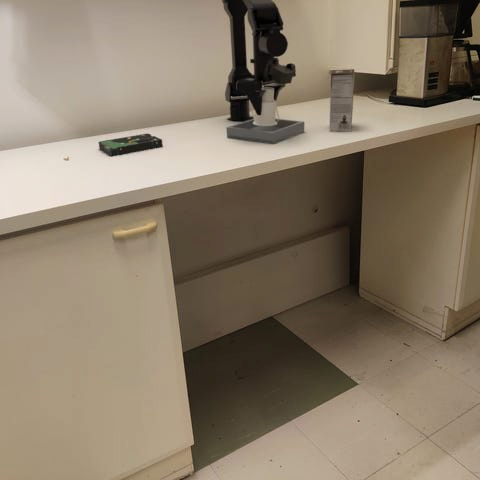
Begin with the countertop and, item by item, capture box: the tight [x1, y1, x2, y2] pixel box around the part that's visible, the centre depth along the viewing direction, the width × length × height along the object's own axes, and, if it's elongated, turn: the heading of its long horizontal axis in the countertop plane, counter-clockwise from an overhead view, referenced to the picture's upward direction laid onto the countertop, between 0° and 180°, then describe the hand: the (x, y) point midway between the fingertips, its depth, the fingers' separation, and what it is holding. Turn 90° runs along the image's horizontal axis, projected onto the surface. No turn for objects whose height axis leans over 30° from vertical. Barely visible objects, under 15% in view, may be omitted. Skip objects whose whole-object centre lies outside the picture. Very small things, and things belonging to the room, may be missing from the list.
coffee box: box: [329, 68, 355, 132], centre depth 139 cm, size 9×6×16 cm
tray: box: [226, 118, 305, 145], centre depth 138 cm, size 16×16×3 cm
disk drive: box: [98, 133, 164, 157], centre depth 132 cm, size 10×3×15 cm
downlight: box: [251, 86, 280, 126], centre depth 135 cm, size 8×7×10 cm
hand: (265, 113), depth 136 cm, fingers closed on downlight, 6 cm apart
